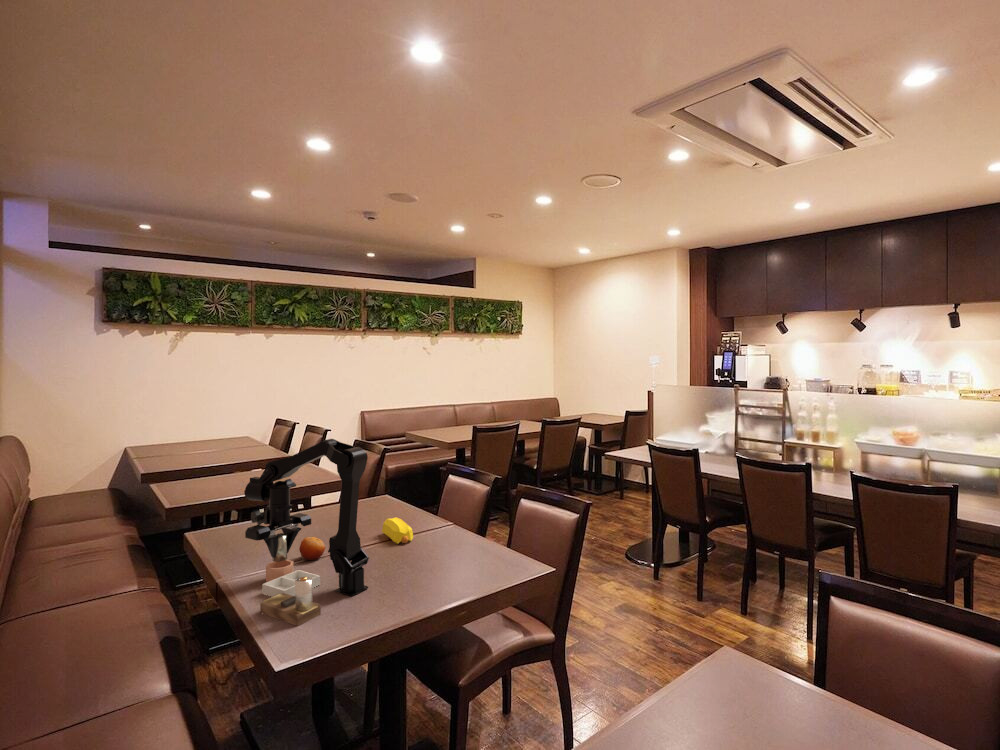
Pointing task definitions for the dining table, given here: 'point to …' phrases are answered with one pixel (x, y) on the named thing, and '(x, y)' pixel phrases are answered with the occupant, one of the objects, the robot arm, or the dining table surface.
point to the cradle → (288, 609)
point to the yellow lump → (397, 530)
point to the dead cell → (281, 548)
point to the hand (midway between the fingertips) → (280, 555)
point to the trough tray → (288, 583)
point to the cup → (278, 569)
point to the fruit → (311, 548)
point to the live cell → (303, 594)
